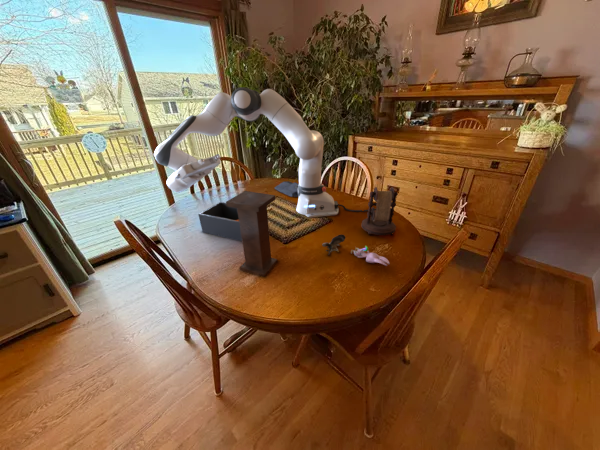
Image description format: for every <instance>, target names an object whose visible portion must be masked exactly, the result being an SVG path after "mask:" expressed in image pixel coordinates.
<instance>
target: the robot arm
mask: <svg viewBox="0 0 600 450" xmlns="http://www.w3.org/2000/svg"><path fill="white" fill-rule="evenodd" d="M261 115H263V116H264V117H266V118H267V119H268V120H269V121H270V122H271V123H272V125H274V127H275V128H277V130H279V132H280V133H282V135H283V136H284V137H285V139H286V140H287V142H288V143H289V145H290V146H291V148H292V149H293V150H294V152H295V155H296V156H297V157H298V158H299V165H298V195H299V196H298V199H297V205H296V208H295V212H297V213H298V214H299V215H303V216H305V217H307V218H309V219H310V218H318V217H319V218H320V217H330V216H338V214H339V212H340V209H339V207H341V208H343V209H344V210H345V211H347V212H353V213H365V212H366V213H368V212H369V211H368V209H356V210H355V209H348V208H347V207H346V206H345V205H343V204H340V203H338V200H334V197H333V196H332V195H331V194H329V193H328V192H327V188H326V186H325V185H324V184H323V183H322V165H323V156H324V145H325V143H324V142H325V140H324V137H323V135H322V134H321V133H320V132H319V131H318V130H313V129H312V130H311V129H310V128H309V127H308V126H307V124H306V122H305V121H304V119H303V118H302V116H301V114H300V113H298V112H297V111H296V110H295V108H294V107H293V106H292V105H291V104H290V103H289V102H288V101H287V100H286V99H285V98H284V97H283V96H282V95H280V94H279V93H278V92H276V91H275V90H274V89H272V88H266V89H264V90H263V91H262V92H259V91H258V90H254V89H251V88H248V87H244V86H241V87H237V88H235V89H233V92H232V93H231V95H230V94H228V93H226V92H223V91H221V92H218V93H216V94H215V96H213V97H212V99H210V101H209V102H208V104H207V105H206V106H205V108H204V109H203V110H202V111H201V112H200V113H199V114H197V115H195V114H194V115H193V114H192V115H189V116H188V117H186V119H185V120H183V121H182V122H181V123H180V124H179V126H177V127H176V128H175V129H174V131H173V132H171V134H170V135H168V137H167V138H166V139H164V141H162V142H161V143H160V144H159V145H158V146H156V148H155V150H154V153H153V156H154V159H155V160H156V162H157V164H159V165H161V166H164V167H166V168H169V169H170V170H173V171H174V172H173V173H172V174H171V175H170V176H169V177H168V178H167V179H166V186H167V188H168V189H170V190H171V191H173V192H175V193H182V192H184V191H186V190H188V189H189V188H191V187H192V186H193V185H195V184H196V183H198V182H199V181H201V180H203V179H204V178H205V177H206V176H208V175H210V174H211V173H212V171H213V170H214V169H216V168H217V167H218V166H219V165H220V164H221V163H222V161H221V158H222V157H221V155H220V154H219V153H216V154H215V155H212V156H209V157H206V158H201V159H198V158H196V157H195V156H193V155H192V154H189V153H188V152H186V151H184V150H182V149H180V148H178V147H177V146H178V145H179V144H180V143H181V142H182V141H183V140H184V139H185V138H186V137H187V136H188V135H190V134H200V135H204V136H207V137H208V136H209V137H217V136H219V135H221V134H222V133H223V132H224V131H225V130H226V128H227V127H228V125H229V123H230V122H231V121H232V119H233V118H235V117H237V118H238V119H241V120H244V121H245V122H251V123H252V122H255V121H257V120H258V119H260V116H261ZM374 209H375V211H376V208H374ZM362 210H364V211H362ZM390 210H391V209H390Z"/></svg>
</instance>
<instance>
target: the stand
mask: <svg viewBox="0 0 600 450" xmlns="http://www.w3.org/2000/svg"><path fill="white" fill-rule="evenodd" d="M274 201H276V195H275V194H271V193H270V194H269V193H264V192H263V193H262V192H256V191H248V190H244V191H242V192H240V193H238V194H237V195H235V196H233V197H231V198H229V199H228V200H226V201H225V203H226V205H227V206H228V207H234V208H237V210H238V217H239V224H240V230H241V237H242V241H241V242H242V249H243V256H244V262H243V263H242V264H241V265H240V266H239V271H243V272H247V273H250V274H254V275H256V276H260V277H263V278H264V277H265V278H266V276H268V274H269V273H270V271H271V270H272V269H273V268H274V266H275V265H276V264H277V263H278V258H274V257H272V251H271V239H270V226H269V217H268V206H270V205H271V204H272V203H273V202H274Z"/></svg>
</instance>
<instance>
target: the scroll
mask: <svg viewBox="0 0 600 450" xmlns="http://www.w3.org/2000/svg"><path fill="white" fill-rule="evenodd" d="M398 195H399V193H398V192H397V191H395V188H394V187H393V186H391V187H390V189H389V190H378V187H377V186H375V187H374V188H373V191H370V192H369V202H368V203H367V205H368V209H367V210H368V211H367V212H366V215H367V216H366V218H364V219H363V220H362V221H361V225H360V226H361V228H362V229H363V230H364V231H365V232H367V233H368V236H371V235H376V236H389V235H390V236H393V235H394V234H395V232H396V231H397V225H396V223H394V221H393V218H394V217H393V216H394V215H395V213H394V212H395V208H396V207H397V197H398ZM374 201H375V202H374ZM375 209H376V210H375ZM390 209H391V210H390ZM392 233H393V234H392Z"/></svg>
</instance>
